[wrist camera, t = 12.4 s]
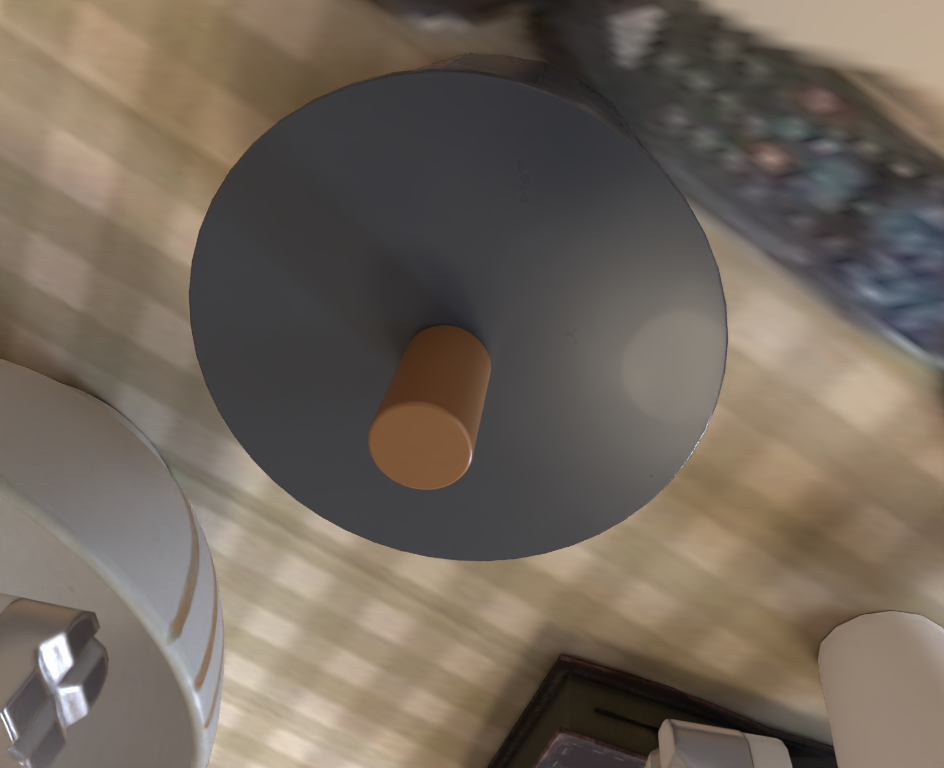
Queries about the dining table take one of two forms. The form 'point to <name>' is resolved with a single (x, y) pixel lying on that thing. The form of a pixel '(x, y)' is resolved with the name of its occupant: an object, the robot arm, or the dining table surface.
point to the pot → (538, 81)
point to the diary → (618, 722)
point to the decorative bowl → (112, 570)
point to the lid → (458, 315)
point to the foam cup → (885, 691)
